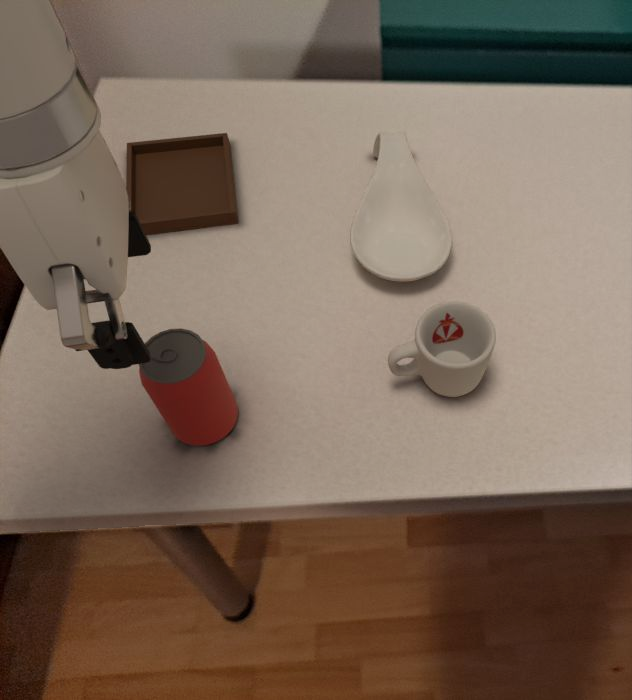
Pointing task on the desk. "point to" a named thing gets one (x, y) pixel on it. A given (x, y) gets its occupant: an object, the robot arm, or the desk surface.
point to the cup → (448, 348)
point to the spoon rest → (399, 217)
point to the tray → (181, 183)
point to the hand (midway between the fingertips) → (128, 305)
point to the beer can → (188, 387)
